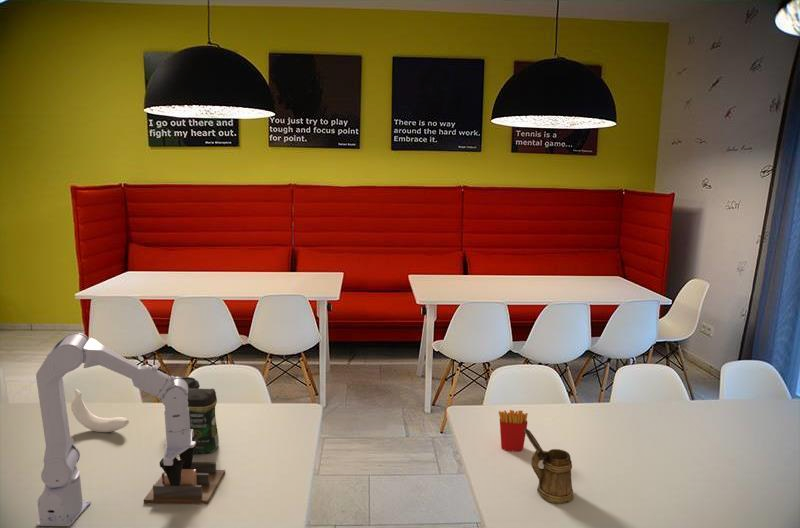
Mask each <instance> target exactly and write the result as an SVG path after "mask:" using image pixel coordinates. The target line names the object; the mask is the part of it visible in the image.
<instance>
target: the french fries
mask: <svg viewBox="0 0 800 528" xmlns="http://www.w3.org/2000/svg"><path fill="white" fill-rule="evenodd" d="M528 414H529V413H527V412H526V413H524V412H523V410H516V411H515V410H512V409H509V411H508V412H507V410H503V411H501V410H499V411H498V415H499V428H500V429H499V431H500V447H501V450H503V451H506V452H522V451H524V445H525V440H526V436H527V435H526V433H525V431H524V430H525V428H526V429H528V428H527V427H528V420H527V418H528Z"/></svg>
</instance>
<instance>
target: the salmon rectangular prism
mask: <svg viewBox="0 0 800 528" xmlns="http://www.w3.org/2000/svg"><path fill="white" fill-rule="evenodd" d="M164 482H165V485H170V482H169V480H168V477H167V475H166V474H165V475H164ZM180 485H197V477H196V469H182V471H181V481H180Z"/></svg>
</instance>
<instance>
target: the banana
mask: <svg viewBox="0 0 800 528" xmlns="http://www.w3.org/2000/svg"><path fill="white" fill-rule="evenodd" d="M74 394H75V398H74V399H73V401H72V402H71V406H70V407H71V412H72V415H73V416H74V418H75V419H76V421H77V423H79V424H80V425H82V426H83V427H84V428H86V429H89V430H90V431H93V432H98V433H110V432H111V433H113V432H115V431H118V430H121V429H123V428H126V427H127V426H129V423H130V422H129V421H130V420H129V419H127V418H126V417H122V416H116V417H100V416H97V415H95V414H94V413H92V412H91V411H90V410H89V409H88V407H87V406H86V404H85V402H84V400H83V398H82V394H83V393H82V392H81V390H79V389H78V388H74Z"/></svg>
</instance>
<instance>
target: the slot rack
mask: <svg viewBox="0 0 800 528" xmlns="http://www.w3.org/2000/svg"><path fill="white" fill-rule="evenodd" d="M190 469H196V477H197V485H179V486H171V485H165V482H164V475H165V474H166V473H165V471H164V472H162V473H161V476H160V477H159V479H158V480H157V481H156V482H155V484H153V485H152V488H151V489H150V490H149V492H148V493H147V494H146V496H144V499H143V504H153V505H154V504H155V505H156V504H162V505H163V504H164V505H168V504H169V505H209V503H210V501H211V500H212V497H213V496H214V494H215V492H216V491H217V489H218V488H219V485H220V483H221V482H222V480H223V478H224V476H225V474H226V469H217V463H216V461H192V466H191V468H190Z"/></svg>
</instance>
